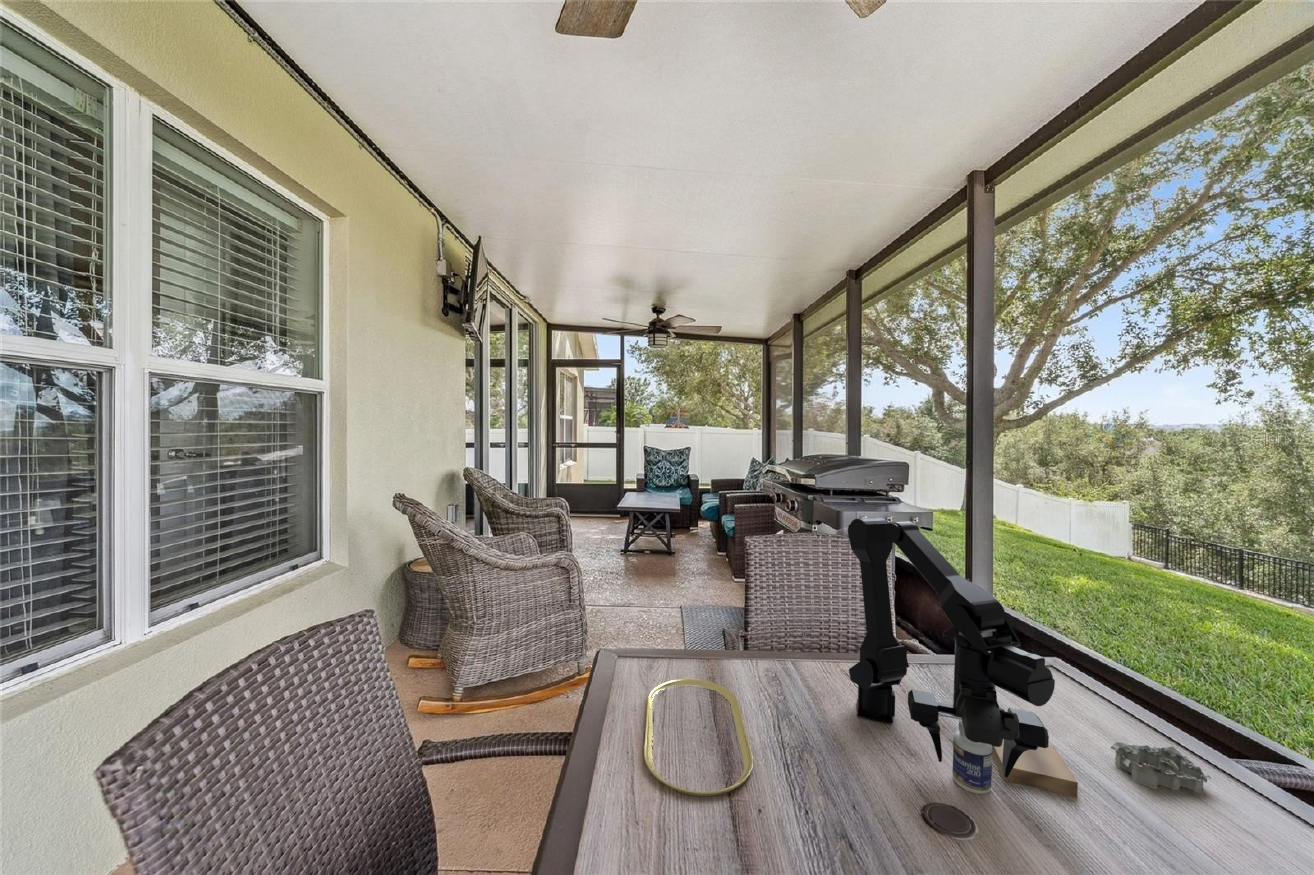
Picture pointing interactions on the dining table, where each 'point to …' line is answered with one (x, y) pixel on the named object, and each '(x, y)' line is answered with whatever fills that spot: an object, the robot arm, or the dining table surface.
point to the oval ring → (738, 723)
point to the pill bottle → (971, 763)
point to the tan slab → (1039, 770)
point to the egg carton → (1159, 767)
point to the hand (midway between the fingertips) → (971, 768)
